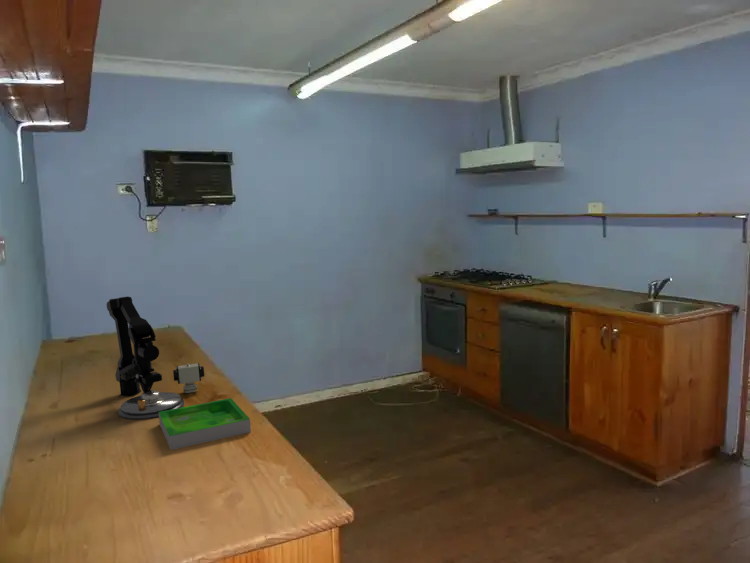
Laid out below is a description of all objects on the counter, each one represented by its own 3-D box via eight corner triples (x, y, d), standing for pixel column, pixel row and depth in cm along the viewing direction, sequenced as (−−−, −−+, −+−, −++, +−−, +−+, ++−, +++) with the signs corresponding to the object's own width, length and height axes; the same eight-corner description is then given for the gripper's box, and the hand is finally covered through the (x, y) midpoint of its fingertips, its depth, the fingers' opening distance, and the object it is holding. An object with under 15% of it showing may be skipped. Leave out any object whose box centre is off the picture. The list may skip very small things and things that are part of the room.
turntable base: (106, 420, 202) (106, 417, 202) (135, 399, 225) (135, 396, 225) (170, 418, 202) (169, 415, 201) (192, 397, 224) (192, 394, 224)
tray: (170, 451, 174) (169, 436, 174) (159, 425, 196) (158, 412, 196) (251, 433, 186) (249, 418, 185) (232, 411, 208) (230, 397, 207)
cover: (147, 405, 209) (146, 395, 208) (139, 402, 213) (138, 392, 212) (162, 400, 213) (161, 390, 212) (155, 397, 217) (154, 388, 217)
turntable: (136, 419, 198) (135, 405, 198) (111, 407, 213) (110, 394, 212) (191, 402, 214) (190, 389, 213) (164, 392, 228) (163, 380, 227)
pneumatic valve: (205, 391, 231) (203, 362, 229) (175, 395, 227) (172, 366, 225) (204, 387, 236) (202, 359, 234) (175, 392, 232) (172, 363, 230)
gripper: (111, 356, 215) (115, 396, 217) (130, 365, 202) (134, 407, 204) (141, 350, 223) (145, 389, 225) (160, 358, 209) (164, 399, 211)
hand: (146, 396), depth 216 cm, fingers closed
